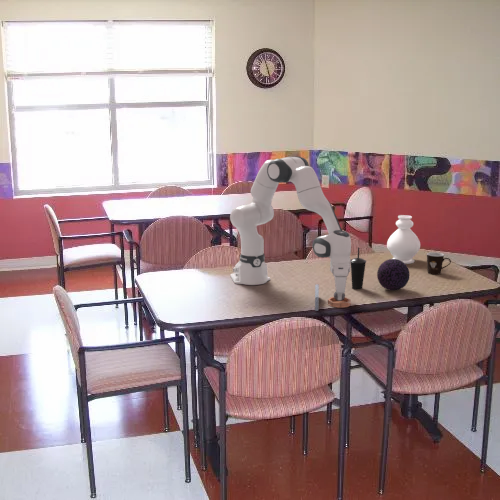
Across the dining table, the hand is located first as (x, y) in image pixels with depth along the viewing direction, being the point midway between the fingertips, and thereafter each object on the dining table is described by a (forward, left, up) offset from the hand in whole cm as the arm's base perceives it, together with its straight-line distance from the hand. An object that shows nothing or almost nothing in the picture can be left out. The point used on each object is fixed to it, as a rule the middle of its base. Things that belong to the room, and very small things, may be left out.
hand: (339, 297), depth 312 cm
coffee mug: (-25, +71, -3) cm, 76 cm away
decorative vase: (-54, +70, -3) cm, 89 cm away
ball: (0, 0, +1) cm, 1 cm away
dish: (0, 0, -3) cm, 3 cm away
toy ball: (-9, +34, -3) cm, 36 cm away
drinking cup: (-18, +20, -3) cm, 28 cm away
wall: (-4, -9, -3) cm, 10 cm away
